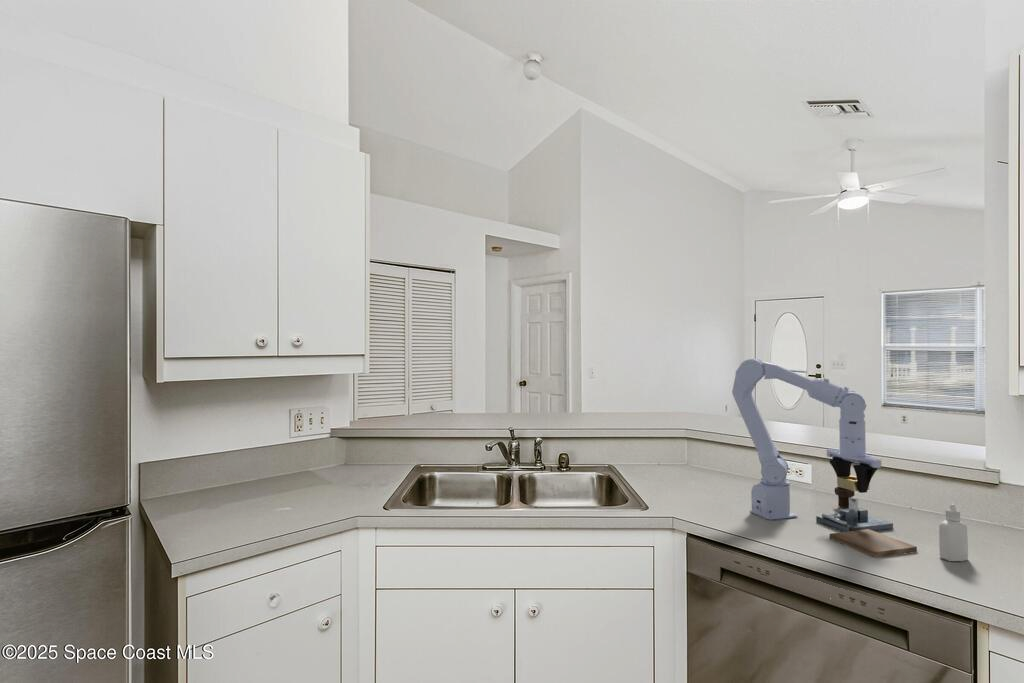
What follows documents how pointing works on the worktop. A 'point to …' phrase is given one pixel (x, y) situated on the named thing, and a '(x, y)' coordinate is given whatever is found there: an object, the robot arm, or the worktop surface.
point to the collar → (848, 482)
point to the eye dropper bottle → (953, 536)
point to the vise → (854, 519)
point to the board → (873, 543)
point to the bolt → (844, 494)
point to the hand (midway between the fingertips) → (853, 489)
